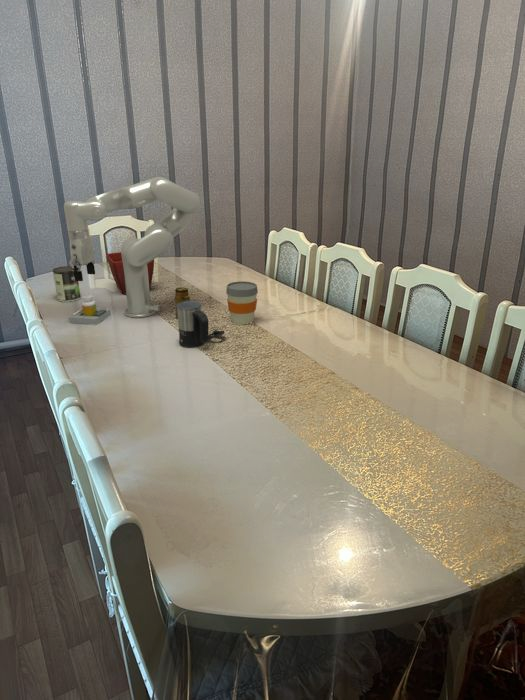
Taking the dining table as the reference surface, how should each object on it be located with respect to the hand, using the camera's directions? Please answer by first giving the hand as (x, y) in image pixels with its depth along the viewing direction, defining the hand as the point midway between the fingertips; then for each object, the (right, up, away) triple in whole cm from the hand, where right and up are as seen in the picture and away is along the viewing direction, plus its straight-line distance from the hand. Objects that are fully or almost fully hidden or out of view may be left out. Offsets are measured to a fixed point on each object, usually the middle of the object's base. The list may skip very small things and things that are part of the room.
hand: (85, 277), depth 207 cm
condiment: (+38, -15, +9) cm, 42 cm away
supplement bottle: (0, -16, +7) cm, 18 cm away
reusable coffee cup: (+62, -17, +5) cm, 65 cm away
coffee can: (-18, -6, +32) cm, 37 cm away
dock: (0, -16, +7) cm, 18 cm away
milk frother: (+48, -26, -14) cm, 57 cm away
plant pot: (+8, 0, +45) cm, 46 cm away
